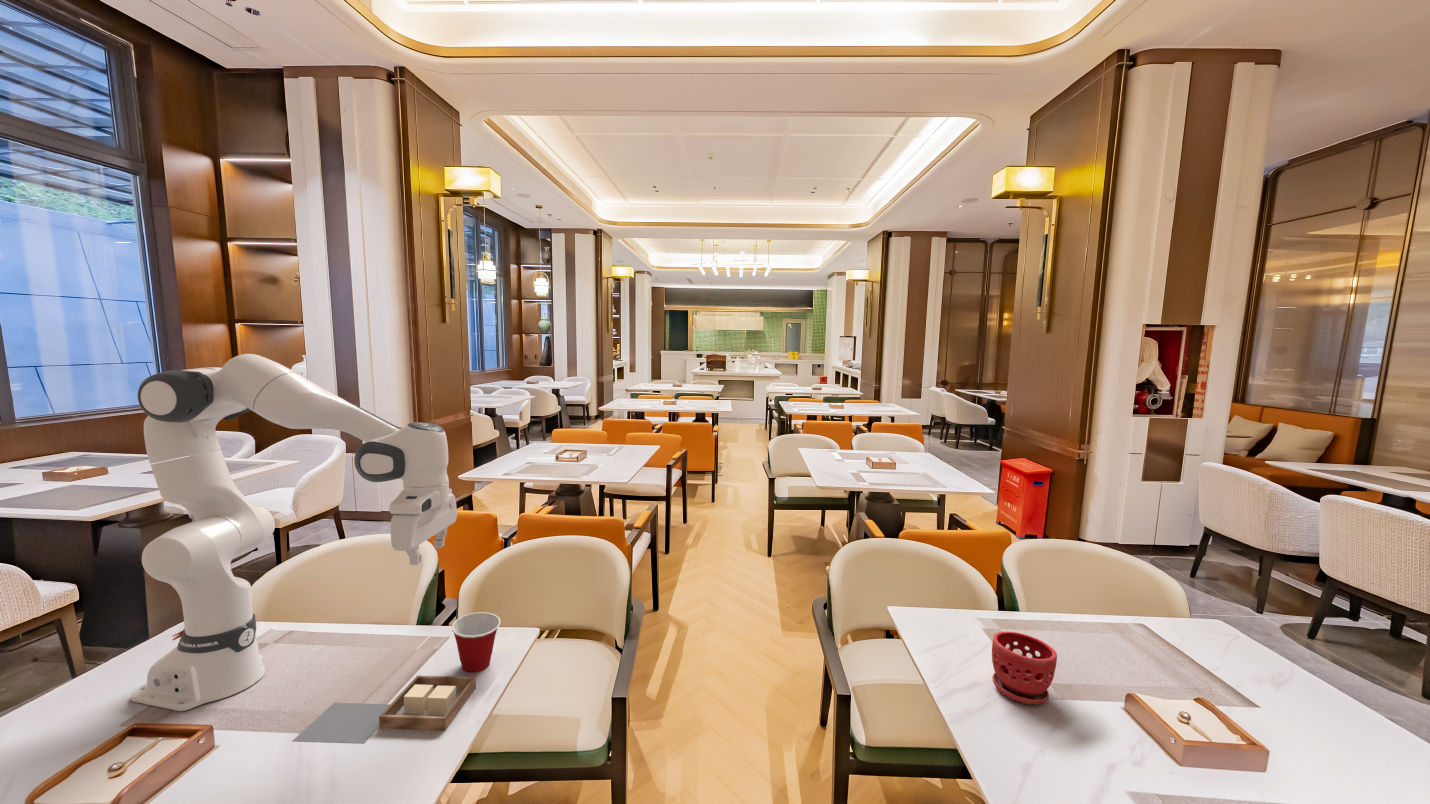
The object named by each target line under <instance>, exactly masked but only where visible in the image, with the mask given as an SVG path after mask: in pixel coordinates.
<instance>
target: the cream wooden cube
mask: <svg viewBox="0 0 1430 804" xmlns="http://www.w3.org/2000/svg"><path fill="white" fill-rule="evenodd" d="M433 690H434V689H433V685H418V684H415V685H414V686H413V687H412V688H411V689H410V690H409V691H408V693H407V694H406V695H405V696H404V705H403V713H404V714H424V713H425V712H426V710H427V711H428V709H427V698H428V696H429V695H430V694H431V693H432V692H433Z"/></svg>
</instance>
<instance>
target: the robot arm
mask: <svg viewBox="0 0 1430 804" xmlns="http://www.w3.org/2000/svg"><path fill="white" fill-rule="evenodd" d="M137 402H138V405H139V407H140V408H141V410H142V411H143V412H144V413H145V414H146V415H147V416H146V418H145V419H144V421H143V437H144V438H143V439H144V444H145V450H146V455H147V459H148V461H149V465H150V468H151V470H152V473H153V476H154V479H155V482H156V485H157V489H158V491H159V494H160V496H161V497H162V499H163V500H164V501H166V502H167V503H169V504H170V503H171V504H175V505H179V506H181V507H183V508H185V509H186V510H187V511H188V512H189V513H190V515H191V516H192V517H193V519H194V520H193V521H191V522H187V523H186V524H183V525H180V526H176V527H173V528H172V529H170V530H168V531H167V532H164V533H162V534H161V535H159V536H157V537H156V538H154V539H153V540H152V541H150V542H148V544H146V545H145V547H144V549H143V551H142V555H141V565H142V567H143V569H144V571H145V573H147V575H149V576H150V577H151V578H153V579H154V580H157V581H159V582H163V583H166V584H169V585H170V586H172V588H173V589H174V590H175V591H176V593H177V594H178V596H179V598H180V602H181V607H182V615H183V622H184V628H183V630H180V631H179V632H177V633H175V634H173V635H171V636H172V637H174V638H173V639H172V641H176V640H177V639H179V638H180V639H179V641H178V643H177V646H176V647H174V648H173V649H171V650H170V651H169V652H168V653H166V654H165V655H164V656H162V657H161V658H159V659H158V660H157V661H156V662H154V663H153V664H152V665H151V666H150V667H149V670H148V673H147V676H146V682H145V683H144V684H142V685H140V686H139V688H137V689H136V690H135V691H134V692H133V693H132V694H131V695H130V696H131V697H130V701H131V702H134V703H139V704H143V705H148V706H153V707H158V708H163V709H166V710H167V709H168V710H171V711H176V712H184V711H188V710H191V709H194V708H196V707H198V706H201V705H204V704H207V703H210V702H211V703H212V702H214V701H218V700H222V699H224V698H228V697H230V696H233V695H235V694H237V693H239V692H240V693H241V692H242V691H244V690H246V689H248V688H249V687H251V686H252V685H255V683H257V682H258V681H259V680H261V679H262V677H263V676H264V675H265V673H266V667H265V665H264V657H263V655H262V654H261V652H260V648H259V642H258V638H257V634H256V632H257V618H256V614H255V613H254V611H253V609H254V608H253V596H252V592H253V591H252V586H251V583H250V581H248V580H246V579H244V578H241V577H238V576H234V574H233V571H232V568H231V563H232V560H234V559H237V558H239V557H241V556H243V555H245V554H247V553H249V552H251V551H253V550H256V549H257V548H258V547H260V546H261V545H262V544H264V543H265V542H266V541H267V540H268V539H270V537H271V536H272V535H273V534H274V533H275V532H274V531H275V528H276V522H275V521H276V520H275V518H274V517H273V515H272V513H271V512H270V511H269V510H268V509H266V508H265V507H263V506H260V505H257V504H256V503H255V504H254V503H253V502H252V501H251V500H249V499H248V498H247V497H246V496H245V495H244V494H243V493H242V491H240V490H239V488H238V487H237V486H236V484H235V483H234V482H235V481H233V478H232V476H231V474H230V471H229V468H228V466H227V463H226V459H225V457H224V454H223V450H222V448H221V445H220V442H219V439H218V437H217V433H216V429H217V428H216V427H217V425H218V423H219V422H220V421H222V420H225V421H232V420H233V419H236V418H237V417H240V416H241V415H243V414H245V413H247V412H249V411H252V412H254V413H256V414H257V415H259V416H261V418H263V419H265V420H267V421H269V422H271V423H273V424H276V425H279V426H282V427H284V428H287V429H291V430H293V429H294V430H309V429H310V430H311V429H312V430H315V429H316V430H318V429H319V430H322V429H323V430H332V431H333V430H334V431H340V432H344V433H345V434H346V433H347V434H349V435H351V436H353V437H355V438H358V439H359V440H361V441H363V442H364V443H362V444H361V445H359V447H358V448H357V449H356V450H355V451H356V452H355V454H354V459H353V461H354V468H355V470H356V471H357V474H359V476H360V477H361V478H363V479H364V480H366V481H368V482H372V483H383V482H390V481H393V480H401V481H402V482H403V486H402V487H403V489H402V490H401V491H400V493H399V494H398V496H396V498H395V499H393V501H392V502H390V504H389V509H388V510H389V513H390V514H393V515H392V516H391V519H390V543H391V547H392V549H393V550H394V551H397V552H405V553H406V554H407V556H408V557H409V564H410V566H417V565H419V564H420V563H422V560H423V559H422V554H420V553H419V551H418V550H419V549H420V545H421V544H423V543H424V542H425V543H426V541H428V540H429V539H431V538H432V537H433V536H435V540H433V548H434V549H438V550H439V549H441V548H443V547H445V539H446V536H447V533H448V527H449V526H451V525H453V524H454V523H456V521H457V517H458V508H457V500H456V496H455V494H453V489H452V488H451V487H450V481H449V479H450V478H449V476H448V471H447V470H448V464H449V445H448V440H447V439H448V438H447V434H446V431H445V430H444V428H443V427H442V426H440V425H438V424H435V423H430V422H423V421H422V422H420V421H419V422H418V421H415V422H409V423H407V424H406V425H405V426H403V427H401V426H398V425H396V424H393V423H391V422H389V421H387V420H385V419H384V418H382V417H380V416H378V415H376V414H374V413H372V412H370V411H368V410H366V409H364V408H363V407H360V406H359V405H356V404H354V403H352V402H350V401H348V400H345V399H344V398H342V397H340V396H338V395H336V394H334V393H332V392H330V391H328V390H326V389H325V388H323V387H321V386H320V385H317V384H316V383H315V382H312V381H311V380H309V379H307V378H306V377H304V376H303V375H300V374H299V373H298V372H296V371H294V370H292V369H290V368H289V367H287V366H285V365H283V364H281V363H279V362H277V361H274V360H272V359H269V358H267V357H264V356H261V355H259V354H255V353H243V354H239V355H236V356H234V357H232V358H230V359H229V360H228V361H226V362H225V363H224V364H223V365H222V367H216V366H213V367H212V366H203V367H196V368H189V369H181V370H180V369H171V370H166V371H161V372H158V373H155V374H152V375H150V376H148V377H147V378H145V379H144V380H143V381H141V383H140V385H139V386H138V389H137Z"/></svg>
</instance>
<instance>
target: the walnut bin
mask: <svg viewBox="0 0 1430 804" xmlns="http://www.w3.org/2000/svg"><path fill="white" fill-rule="evenodd" d="M476 679H477V678H476V677H475V676H474V677H472V676H449V675H447V676H445V675H444V676H441V675H416V677H415V678H413V679H412V681H411V682H409V684H408V685H407V686H406V687H405V688H404V689H403V691H401V692H400V694H398V696H396V698H395V699H394V700H393V701H392V702H390V703H389V704H390V705H389V707H388V708H387V709H386V710H385V711H384V712H383V713H382V714H381V715H380V716H379V728H378V729H379V730H397V731H398V730H399V731H405V730H407V731H431V732H432V731H434V732H435V731H436V732H446V730H447V729H448V728H449V726H450V725H451V724H452V722H453V721H454V719H455V718H456V717H457V715H458V714H459V713H460V711H461V710H462V708H464V705H465V704H466V703H467V702H468V701H469V699H470V697H471V695H472V694H473V693H474V691H475V690H476V687H477V686H476V685H477V684H476V682H477V680H476ZM415 684H418V685H433V690H434V689H435V688H436V687H437V686H456V691H457V690H458V691H459V690H460V691H461V692H460V694H459V695H458V696H457V697H456V701H455V702H454V703H453V704H452V706H451V707H450V708H449V710H448V711H447V712H446V714H445V715H442V716H441V715H413V714H412V715H410V714H408V715H405V714H397V713H398V712H399V711H400V710H401V709H402V708H404V696H405V695H406V694H407V693H408V691H409V690H410V689H411V688H412V687H413V686H414V685H415Z"/></svg>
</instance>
